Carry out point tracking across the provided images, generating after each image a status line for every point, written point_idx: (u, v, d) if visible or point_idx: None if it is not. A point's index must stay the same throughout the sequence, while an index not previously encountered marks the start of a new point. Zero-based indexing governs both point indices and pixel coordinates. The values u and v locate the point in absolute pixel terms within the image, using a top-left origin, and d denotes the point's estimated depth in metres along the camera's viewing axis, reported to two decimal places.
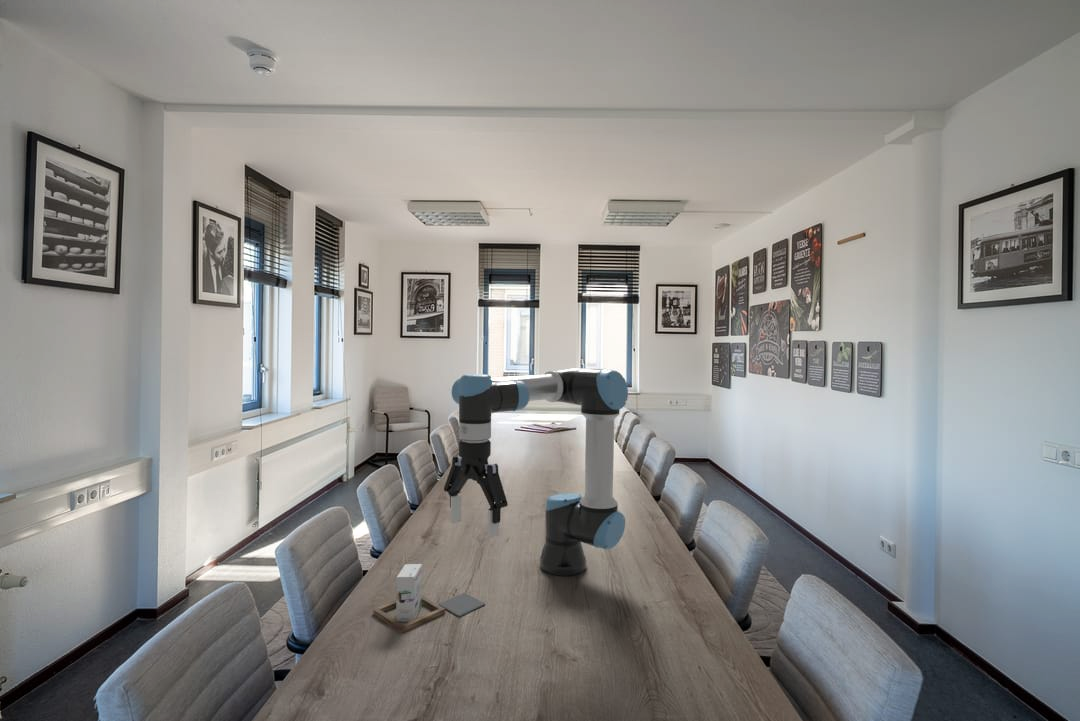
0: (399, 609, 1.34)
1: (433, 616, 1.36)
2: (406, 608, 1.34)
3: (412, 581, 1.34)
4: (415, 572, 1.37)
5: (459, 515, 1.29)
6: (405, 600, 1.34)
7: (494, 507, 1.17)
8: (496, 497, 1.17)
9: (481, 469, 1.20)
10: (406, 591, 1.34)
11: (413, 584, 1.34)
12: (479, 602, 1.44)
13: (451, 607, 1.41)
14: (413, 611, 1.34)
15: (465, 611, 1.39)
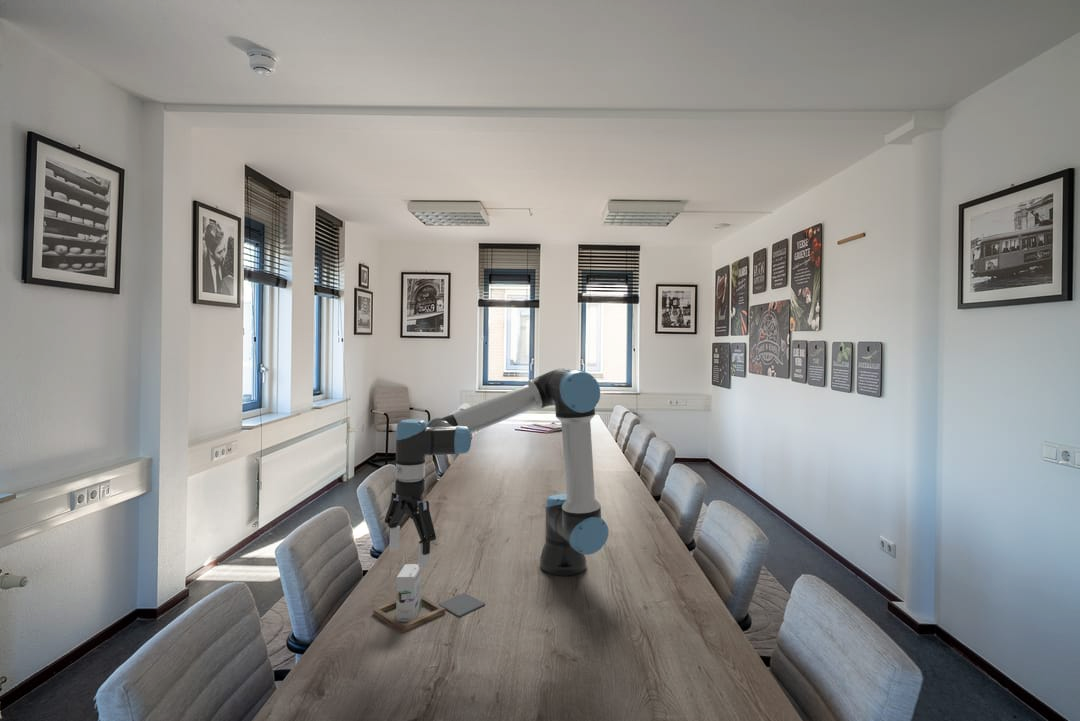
0: (399, 609, 1.34)
1: (433, 616, 1.36)
2: (406, 608, 1.34)
3: (412, 581, 1.34)
4: (415, 572, 1.37)
5: (397, 545, 1.43)
6: (405, 600, 1.34)
7: (423, 540, 1.32)
8: (425, 532, 1.31)
9: (414, 505, 1.35)
10: (406, 591, 1.34)
11: (413, 584, 1.34)
12: (479, 602, 1.44)
13: (451, 607, 1.41)
14: (413, 611, 1.34)
15: (465, 611, 1.39)
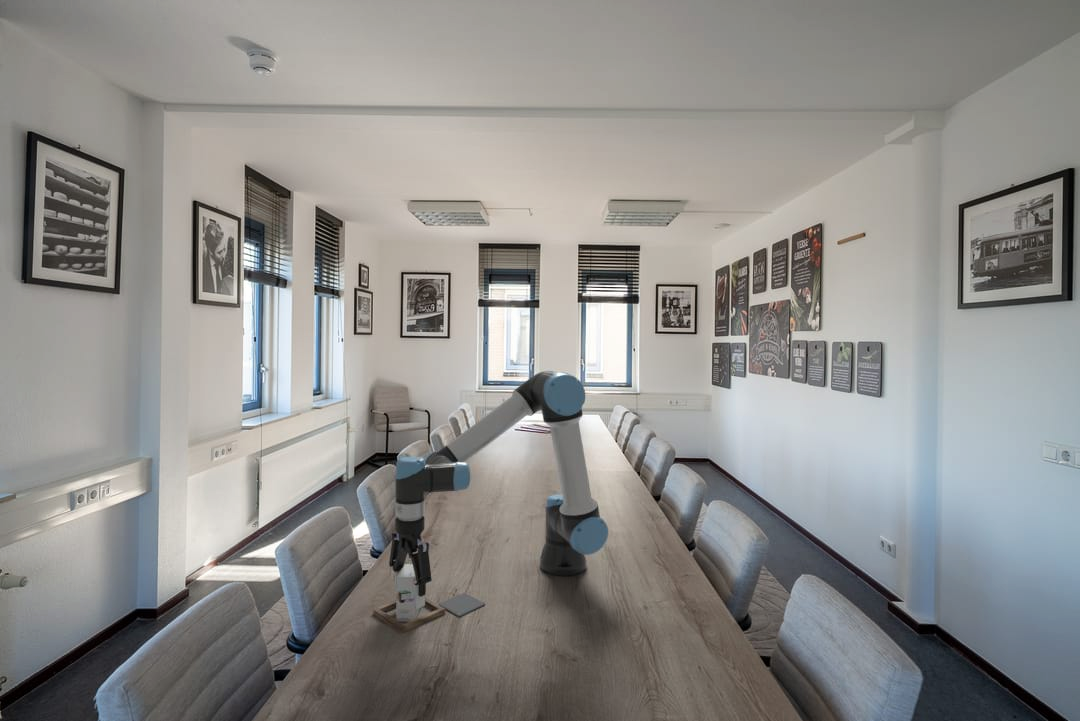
0: (399, 609, 1.34)
1: (433, 616, 1.36)
2: (406, 608, 1.34)
3: (412, 581, 1.34)
4: None
5: None
6: (405, 600, 1.34)
7: (419, 583, 1.33)
8: (422, 574, 1.32)
9: (414, 545, 1.35)
10: (406, 591, 1.34)
11: (413, 584, 1.34)
12: (479, 602, 1.44)
13: (451, 607, 1.41)
14: (413, 611, 1.34)
15: (465, 611, 1.39)
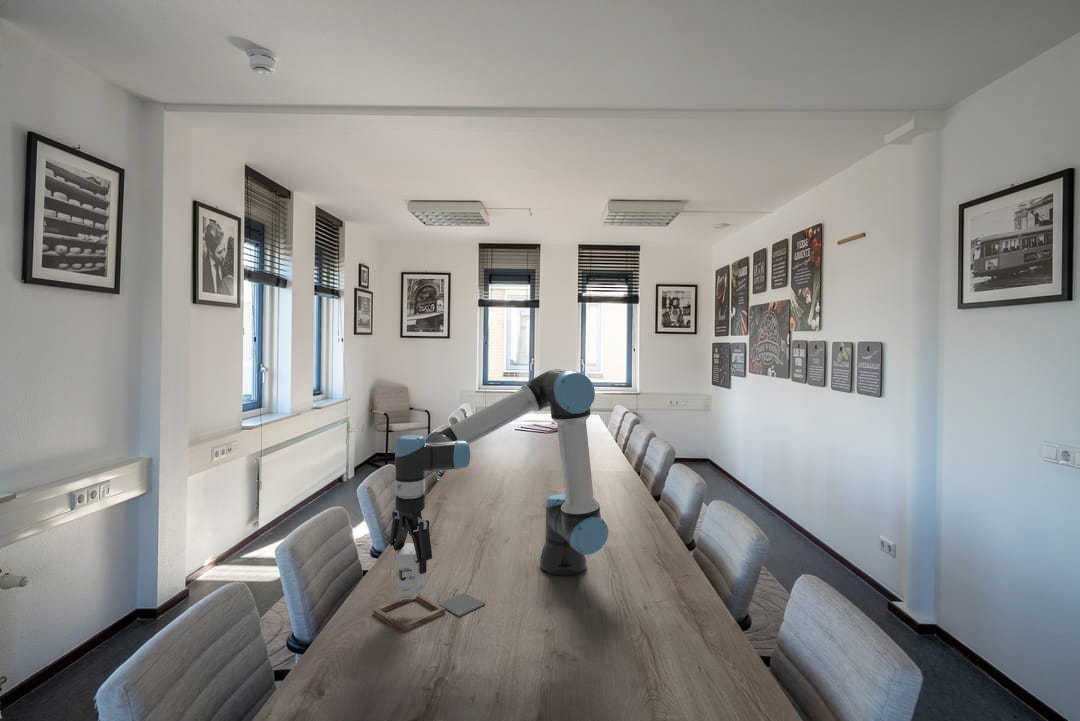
0: (400, 587, 1.34)
1: (433, 616, 1.36)
2: (407, 586, 1.34)
3: (413, 559, 1.34)
4: None
5: None
6: (406, 578, 1.34)
7: (420, 560, 1.33)
8: (422, 551, 1.32)
9: (414, 522, 1.35)
10: (407, 569, 1.34)
11: (414, 562, 1.34)
12: (479, 602, 1.44)
13: (451, 607, 1.41)
14: (414, 589, 1.34)
15: (465, 611, 1.39)
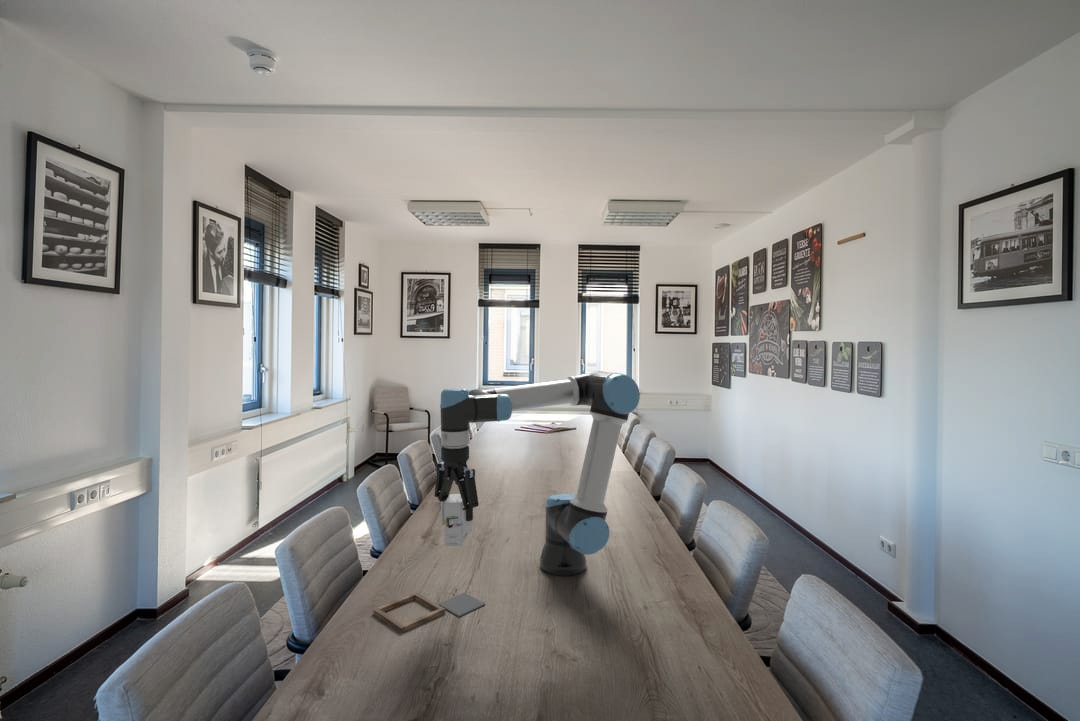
0: (447, 534, 1.38)
1: (433, 616, 1.36)
2: (454, 533, 1.38)
3: (459, 506, 1.38)
4: (461, 499, 1.40)
5: None
6: (453, 525, 1.38)
7: (467, 508, 1.37)
8: (469, 499, 1.36)
9: (460, 471, 1.38)
10: (454, 516, 1.38)
11: (460, 509, 1.38)
12: (479, 602, 1.44)
13: (451, 607, 1.41)
14: (461, 536, 1.38)
15: (465, 611, 1.39)
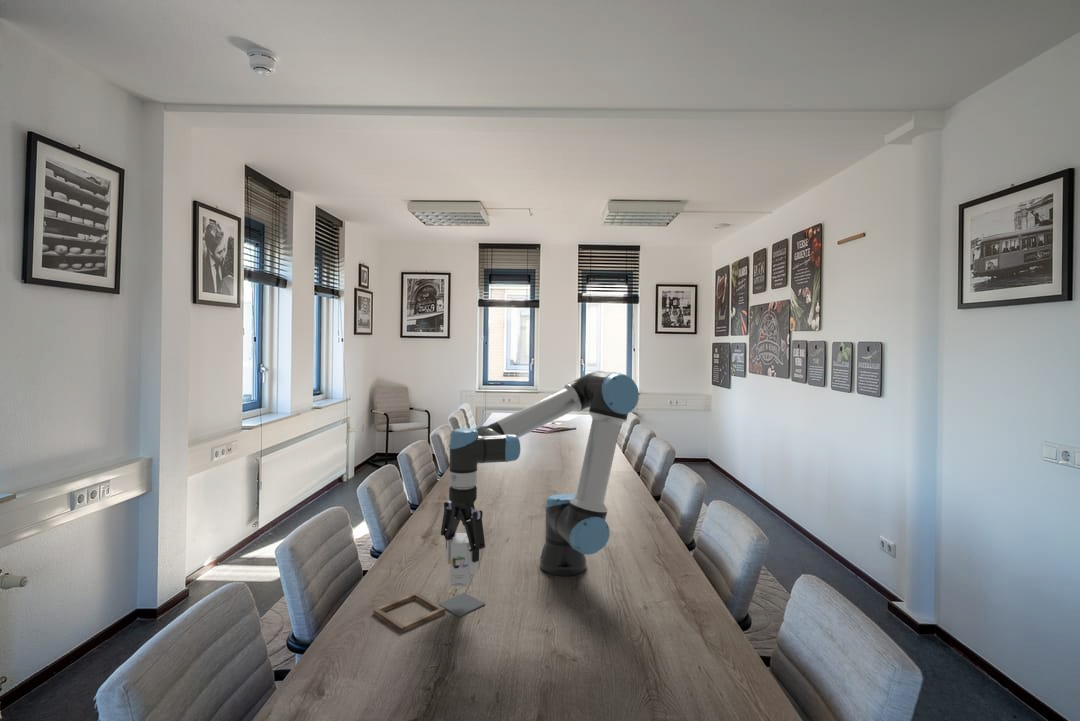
0: (453, 574, 1.39)
1: (433, 616, 1.36)
2: (460, 574, 1.39)
3: (466, 547, 1.39)
4: None
5: None
6: (459, 566, 1.39)
7: (473, 549, 1.38)
8: (476, 540, 1.37)
9: (468, 512, 1.40)
10: (460, 557, 1.39)
11: (467, 550, 1.39)
12: (479, 602, 1.44)
13: (451, 607, 1.41)
14: (467, 576, 1.39)
15: (465, 611, 1.39)
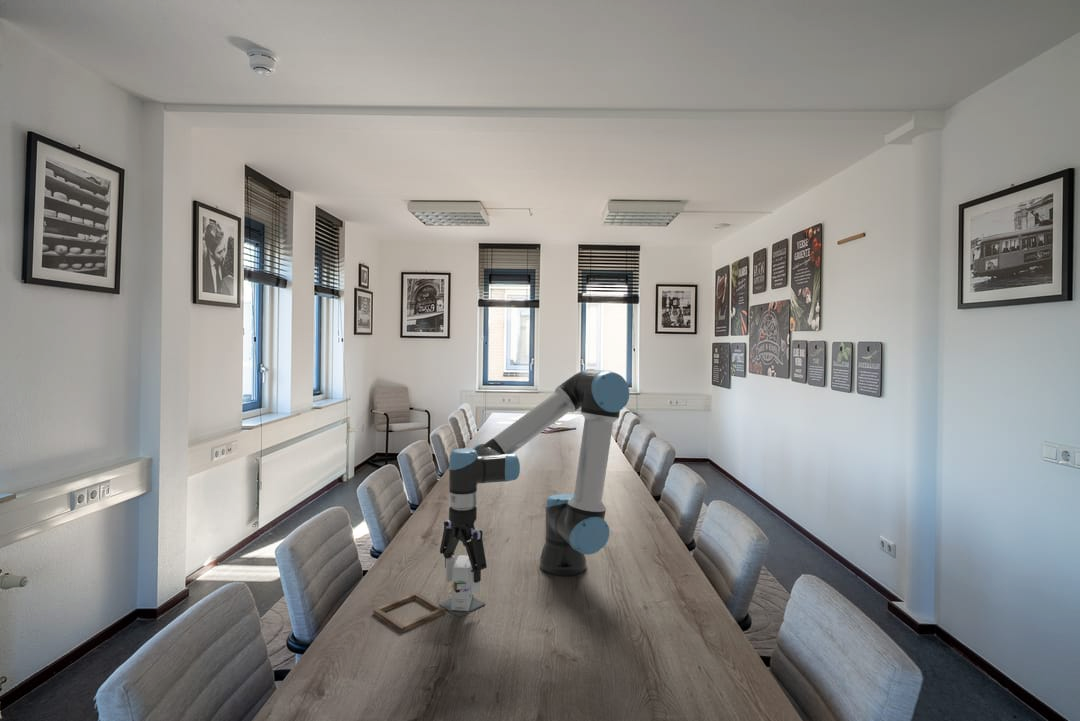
0: (454, 598, 1.39)
1: (433, 616, 1.36)
2: (461, 598, 1.39)
3: (468, 572, 1.38)
4: (470, 563, 1.41)
5: None
6: (460, 590, 1.39)
7: (475, 569, 1.38)
8: (477, 561, 1.37)
9: (468, 533, 1.40)
10: (461, 581, 1.39)
11: (468, 575, 1.39)
12: (479, 602, 1.44)
13: None
14: (468, 601, 1.39)
15: (465, 611, 1.39)
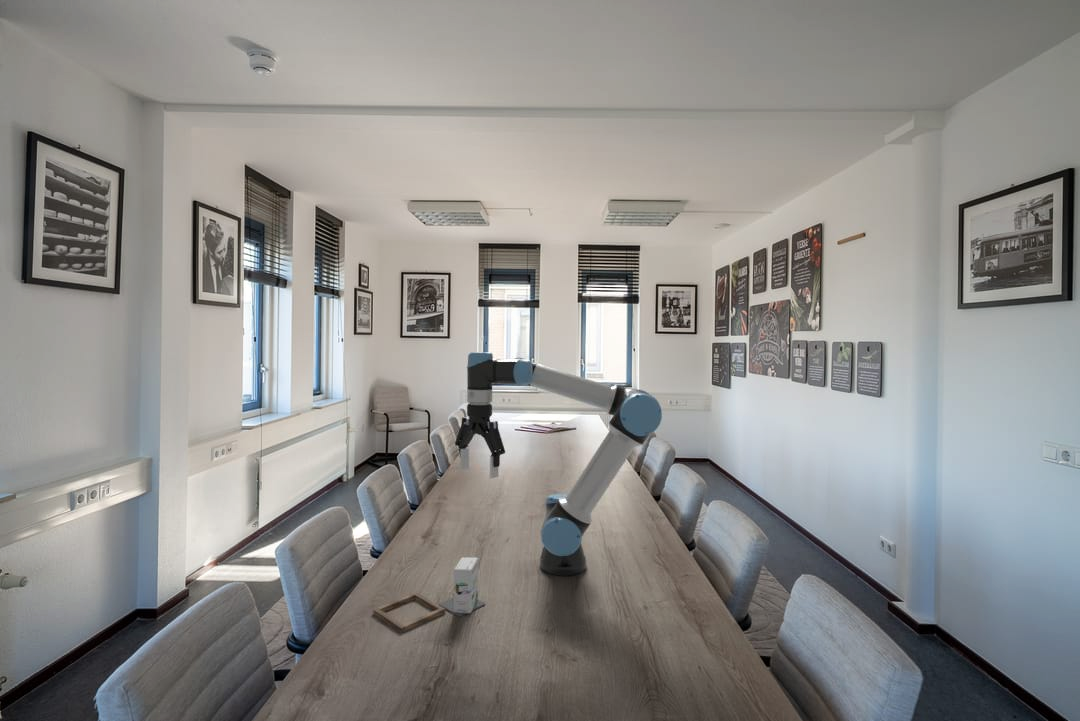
0: (456, 600, 1.38)
1: (433, 616, 1.36)
2: (463, 600, 1.38)
3: (469, 574, 1.38)
4: (472, 565, 1.41)
5: (467, 464, 1.63)
6: (462, 592, 1.38)
7: (495, 454, 1.51)
8: (496, 446, 1.51)
9: (484, 425, 1.54)
10: (463, 583, 1.38)
11: (470, 577, 1.38)
12: (479, 602, 1.44)
13: (451, 607, 1.41)
14: (470, 603, 1.38)
15: None
